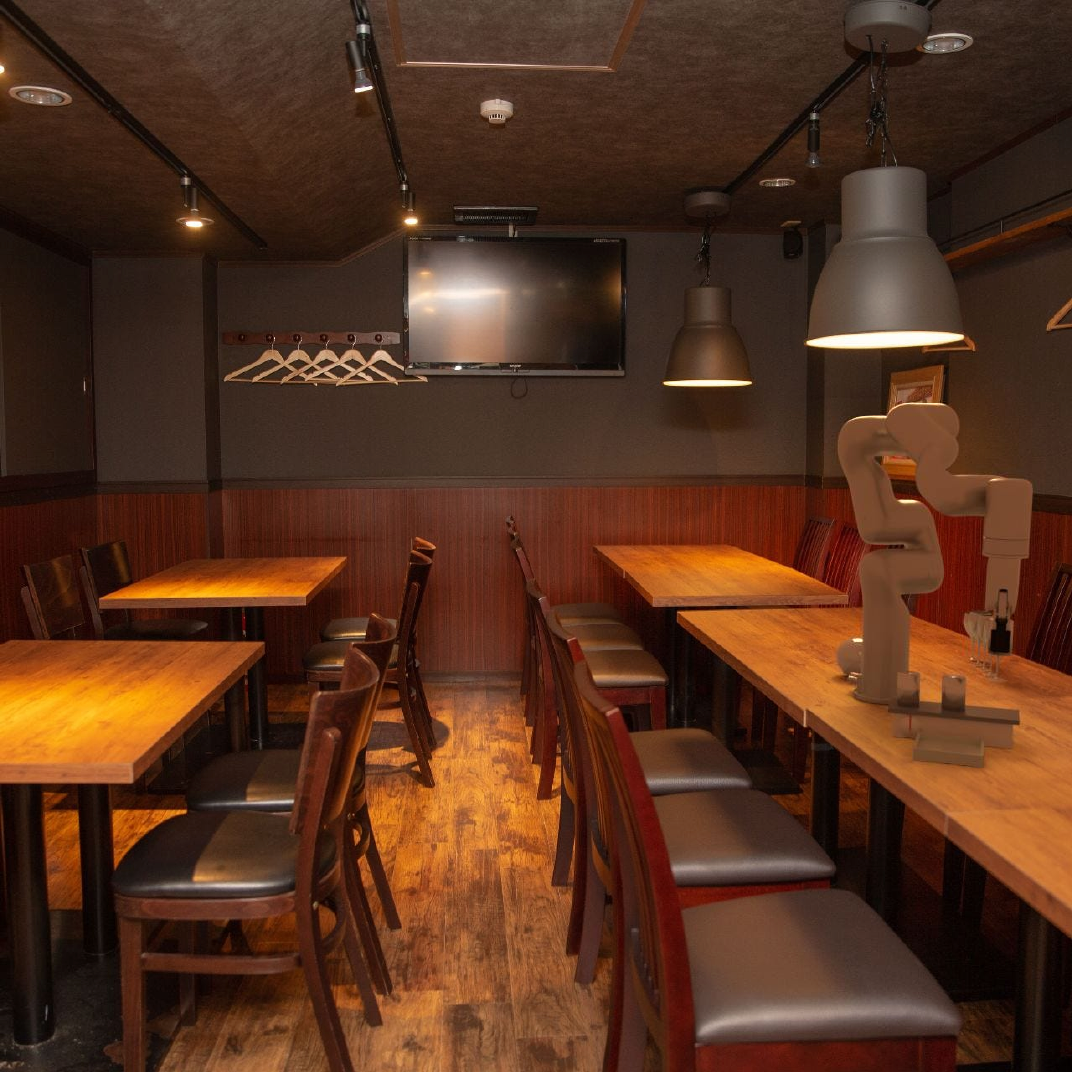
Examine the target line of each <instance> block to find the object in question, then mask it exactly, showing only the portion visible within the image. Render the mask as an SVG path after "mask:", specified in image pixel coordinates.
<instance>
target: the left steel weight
mask: <svg viewBox="0 0 1072 1072" xmlns="http://www.w3.org/2000/svg"><path fill="white" fill-rule="evenodd" d="M920 695H921V673H920V672H918V671H914V670H909V671H898V672H897V705H899V706H902V707H919V702H920V701H921V700H920V697H921V696H920Z"/></svg>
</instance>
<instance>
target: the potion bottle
mask: <svg viewBox="0 0 1072 1072" xmlns="http://www.w3.org/2000/svg"><path fill="white" fill-rule="evenodd" d="M835 657H836V658H835V659H836V660H835V661H836V663H837V665H838V667H839V669H840V670H841V672H842V674H843V675H846V676H847V677H848V676H849V675H850V673H851V672H854V673H859V674H861V666H862V636H861V637H860V636H853V637H849V638H847V639H845V641H843V642H842V643H840V644H839V646H838V648H837V650H836V652H835Z"/></svg>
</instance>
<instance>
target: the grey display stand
mask: <svg viewBox="0 0 1072 1072" xmlns="http://www.w3.org/2000/svg"><path fill="white" fill-rule="evenodd" d="M941 704H942V702H936V701H935V702H934V701H925V700H924V701H923V700H920V702H919V707H902V706H899V705H897V699H894V698H892V699H891V701H890V704H888V705H887V709H886V710H887V713H889V714H893V717H892V719H893V720H892V737H895V738H903V737H910V738H909V739H913V738H916V737H917V733H928V734H937V735H947V736H957V737H966V738H976V739H985V742H984V747H991V748H999V749H1007V748H1010V749H1009V750H1013V740H1014V738H1013V737H1014V736H1013V735H1014V726H1020V725H1021V724H1020V723H1021V719H1020V709H1012V708H1011V709H1010V708H1002V707H1001V708H1000V707H991V706H990V707H989V706H980V705H979V706H977V705H968V704H965V711H962V712H952V711H946V710H943V709H942V708H941Z"/></svg>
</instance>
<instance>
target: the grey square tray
mask: <svg viewBox="0 0 1072 1072" xmlns="http://www.w3.org/2000/svg"><path fill="white" fill-rule="evenodd" d="M914 740H915V741H914V744H913V747H912V760H913V761H918V760H921V761H920V762H927V761H928V763H929V762H930V763H937V764H944V763H951V764H950V765H953V764H959V765H958V766H962V765H966V766H965V767H971V766H973V768H980V769H983V768H984V760H985V759H984V758H985V746H984V742H985V739H976V738H966V737H957V736H947V735H937V734H928V733H917V737H916V739H914Z"/></svg>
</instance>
